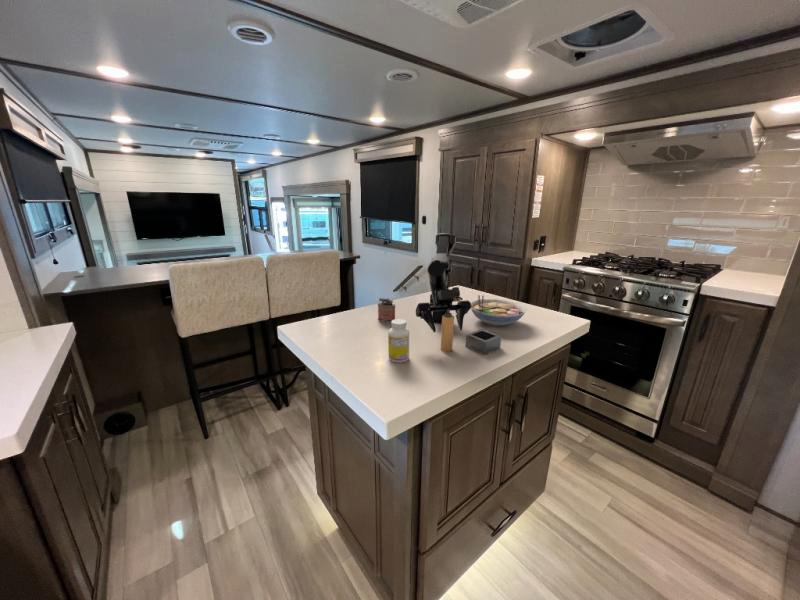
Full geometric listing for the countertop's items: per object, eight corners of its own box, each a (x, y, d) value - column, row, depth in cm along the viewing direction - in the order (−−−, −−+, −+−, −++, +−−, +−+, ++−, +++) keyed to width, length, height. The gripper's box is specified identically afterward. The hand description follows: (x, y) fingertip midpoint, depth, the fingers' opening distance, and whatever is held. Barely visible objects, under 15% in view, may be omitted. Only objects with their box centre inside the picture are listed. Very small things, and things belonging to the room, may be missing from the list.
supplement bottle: (393, 352, 105) (393, 316, 101) (412, 356, 103) (412, 319, 99) (385, 361, 99) (384, 323, 95) (404, 365, 97) (404, 326, 93)
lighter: (396, 321, 134) (396, 298, 131) (393, 323, 131) (393, 300, 128) (380, 318, 137) (379, 296, 134) (376, 320, 134) (376, 298, 131)
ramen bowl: (527, 337, 118) (530, 316, 115) (466, 331, 123) (467, 311, 121) (521, 315, 141) (523, 298, 139) (469, 311, 147) (470, 294, 144)
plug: (439, 351, 106) (441, 310, 102) (441, 346, 110) (443, 306, 106) (451, 352, 105) (454, 311, 101) (452, 347, 109) (455, 307, 105)
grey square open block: (484, 354, 104) (486, 342, 102) (465, 346, 110) (466, 334, 109) (500, 348, 109) (501, 336, 107) (480, 340, 115) (481, 328, 114)
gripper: (418, 279, 103) (426, 322, 96) (471, 277, 107) (483, 319, 99) (412, 296, 113) (419, 336, 106) (461, 294, 116) (471, 332, 109)
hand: (448, 331), depth 105 cm, fingers open, 9 cm apart
